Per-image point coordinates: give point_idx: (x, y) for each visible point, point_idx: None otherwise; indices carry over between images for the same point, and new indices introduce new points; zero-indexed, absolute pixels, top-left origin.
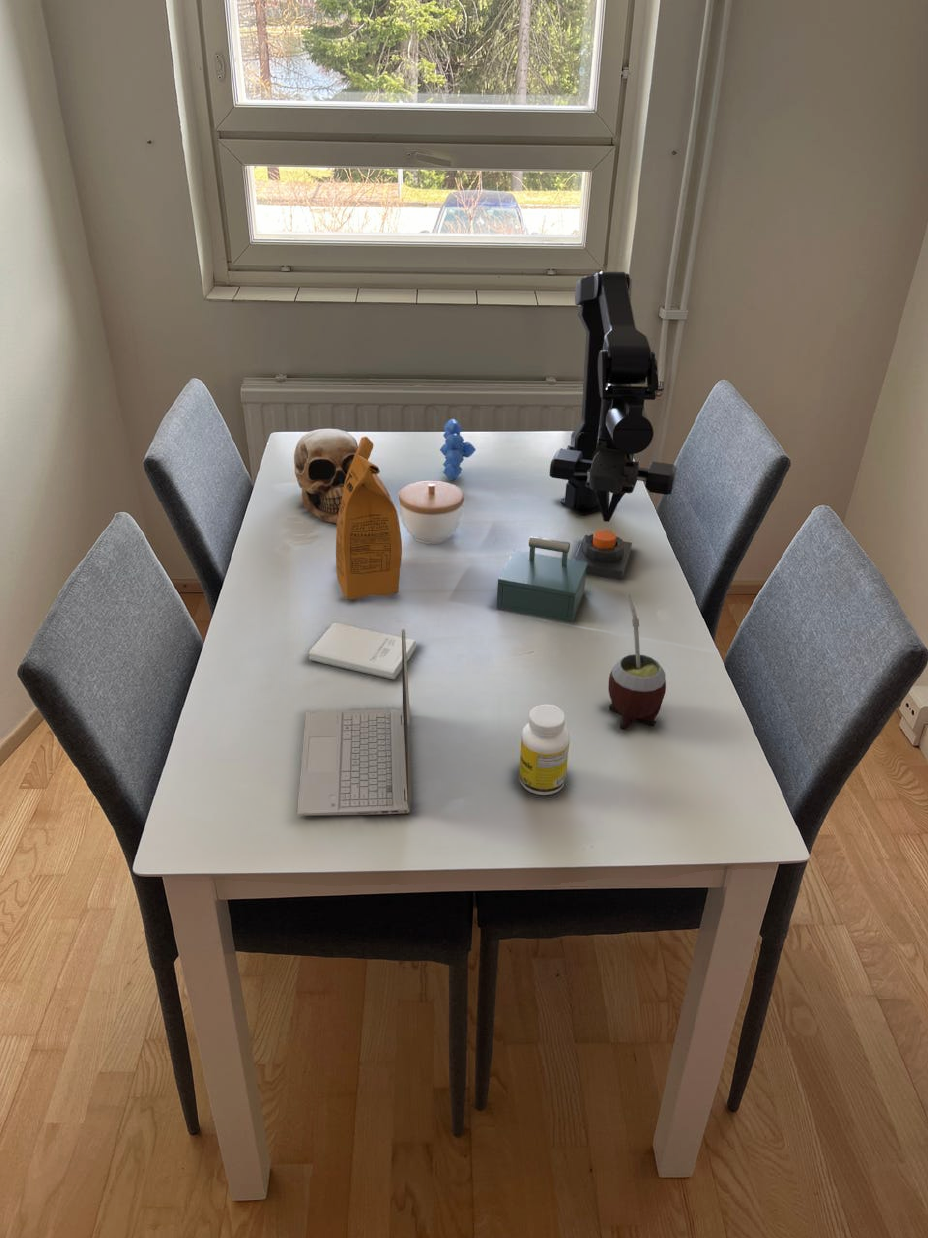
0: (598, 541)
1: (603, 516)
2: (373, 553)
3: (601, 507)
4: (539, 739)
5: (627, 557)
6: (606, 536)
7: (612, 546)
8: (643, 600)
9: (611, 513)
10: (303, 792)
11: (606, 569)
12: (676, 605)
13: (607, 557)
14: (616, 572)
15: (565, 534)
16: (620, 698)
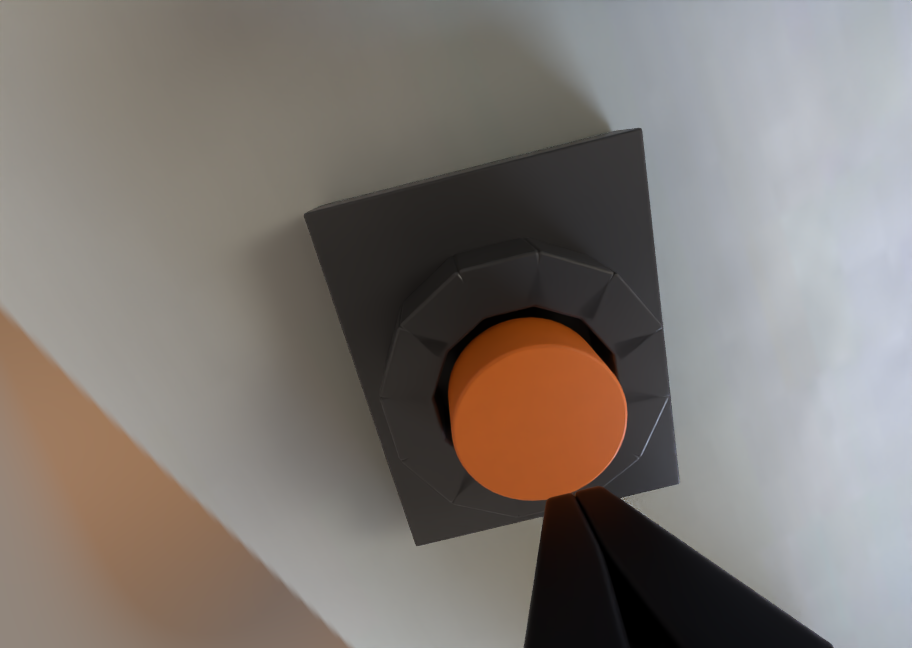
0: (556, 338)
1: (631, 514)
2: None
3: (743, 596)
4: None
5: (369, 402)
6: (522, 414)
7: (453, 377)
8: (80, 50)
9: (551, 577)
10: None
11: (409, 187)
12: None
13: (443, 273)
14: (343, 202)
15: (764, 480)
16: None
